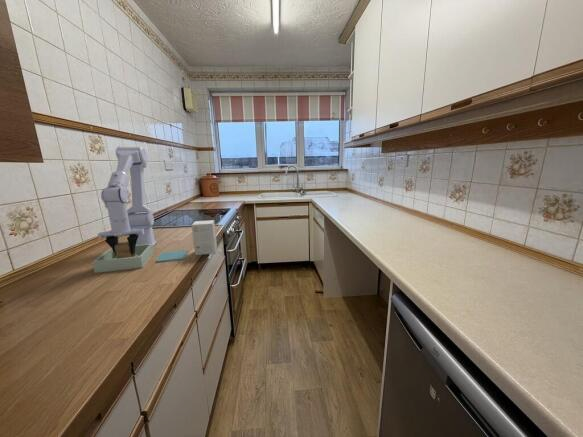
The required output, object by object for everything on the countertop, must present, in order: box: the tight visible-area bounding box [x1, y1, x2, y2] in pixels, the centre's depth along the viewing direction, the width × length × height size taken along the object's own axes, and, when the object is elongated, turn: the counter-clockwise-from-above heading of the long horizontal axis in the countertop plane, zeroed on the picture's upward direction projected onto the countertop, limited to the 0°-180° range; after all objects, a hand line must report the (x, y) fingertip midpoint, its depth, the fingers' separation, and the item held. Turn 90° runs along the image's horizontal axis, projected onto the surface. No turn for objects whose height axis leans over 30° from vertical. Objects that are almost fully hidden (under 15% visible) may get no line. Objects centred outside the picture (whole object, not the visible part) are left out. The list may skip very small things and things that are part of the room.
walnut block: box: [115, 240, 135, 259], centre depth 92 cm, size 4×4×6 cm
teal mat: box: [155, 249, 188, 263], centre depth 98 cm, size 10×10×1 cm
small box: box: [191, 219, 218, 256], centre depth 101 cm, size 8×6×13 cm
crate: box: [91, 244, 155, 274], centre depth 93 cm, size 15×15×4 cm
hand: (125, 254), depth 93 cm, fingers closed on walnut block, 4 cm apart
